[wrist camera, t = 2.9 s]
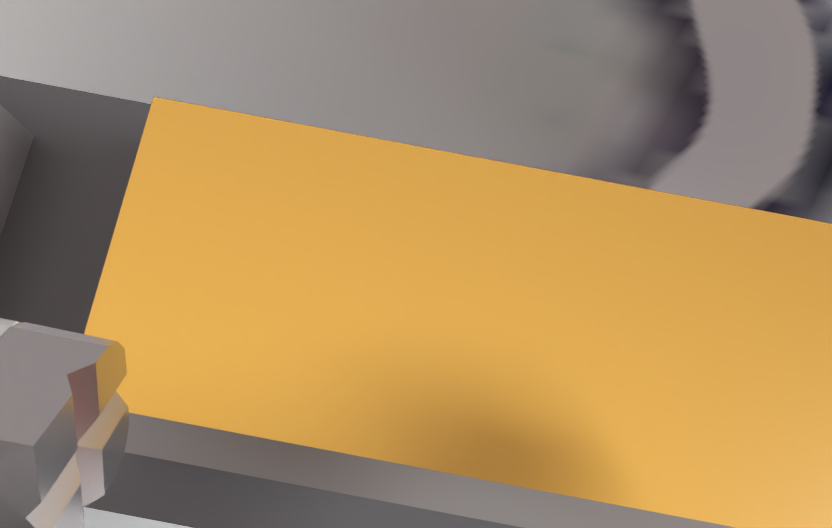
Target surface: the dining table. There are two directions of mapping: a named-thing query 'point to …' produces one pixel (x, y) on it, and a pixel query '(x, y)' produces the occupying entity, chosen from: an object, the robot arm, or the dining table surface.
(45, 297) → the power strip
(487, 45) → the dining table surface
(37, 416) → the robot arm
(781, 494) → the amber switch
